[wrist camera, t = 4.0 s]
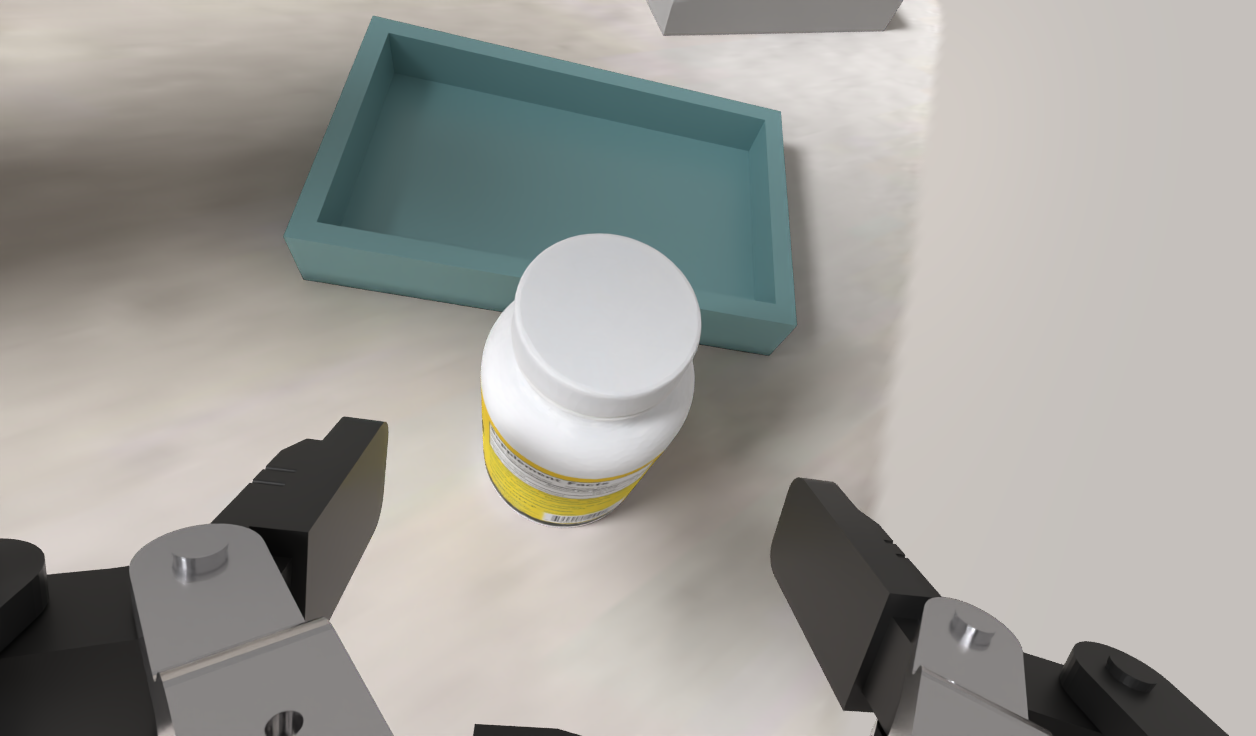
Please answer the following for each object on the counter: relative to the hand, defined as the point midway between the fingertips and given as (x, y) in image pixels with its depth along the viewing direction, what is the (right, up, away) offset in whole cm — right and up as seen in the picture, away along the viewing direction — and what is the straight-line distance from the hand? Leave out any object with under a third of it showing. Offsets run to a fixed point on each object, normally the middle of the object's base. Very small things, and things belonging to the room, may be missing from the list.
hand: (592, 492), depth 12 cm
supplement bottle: (-2, -1, +9) cm, 10 cm away
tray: (-2, +9, +14) cm, 17 cm away
